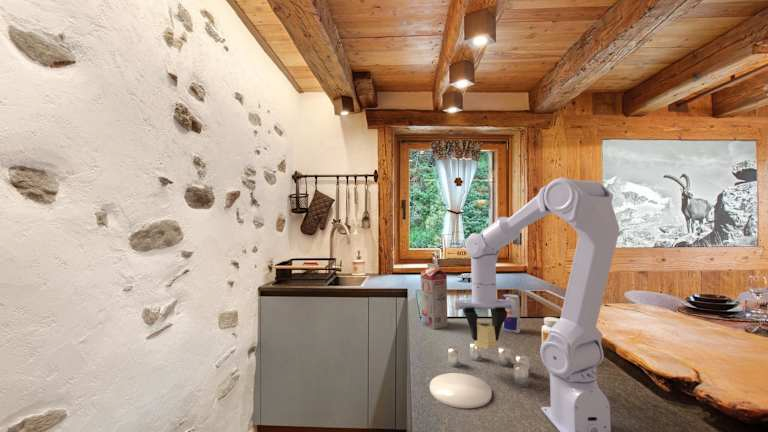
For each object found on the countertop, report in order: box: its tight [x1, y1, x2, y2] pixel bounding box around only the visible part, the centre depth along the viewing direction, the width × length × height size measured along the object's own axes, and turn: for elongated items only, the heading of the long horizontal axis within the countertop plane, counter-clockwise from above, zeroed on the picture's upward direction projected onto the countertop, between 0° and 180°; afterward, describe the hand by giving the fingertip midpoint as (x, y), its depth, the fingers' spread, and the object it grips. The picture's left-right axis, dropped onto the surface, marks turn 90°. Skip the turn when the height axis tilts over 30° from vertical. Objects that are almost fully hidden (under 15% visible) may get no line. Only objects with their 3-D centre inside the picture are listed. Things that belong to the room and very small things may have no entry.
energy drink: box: [502, 293, 521, 335], centre depth 106 cm, size 5×5×12 cm
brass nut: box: [473, 320, 497, 350], centre depth 76 cm, size 5×4×5 cm
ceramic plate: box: [429, 372, 493, 409], centre depth 68 cm, size 13×13×1 cm
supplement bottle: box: [541, 316, 560, 344], centre depth 86 cm, size 5×5×10 cm
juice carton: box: [420, 262, 449, 330], centre depth 113 cm, size 7×7×22 cm
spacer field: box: [447, 340, 531, 388], centre depth 77 cm, size 16×18×4 cm
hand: (484, 339), depth 76 cm, fingers closed on brass nut, 4 cm apart
